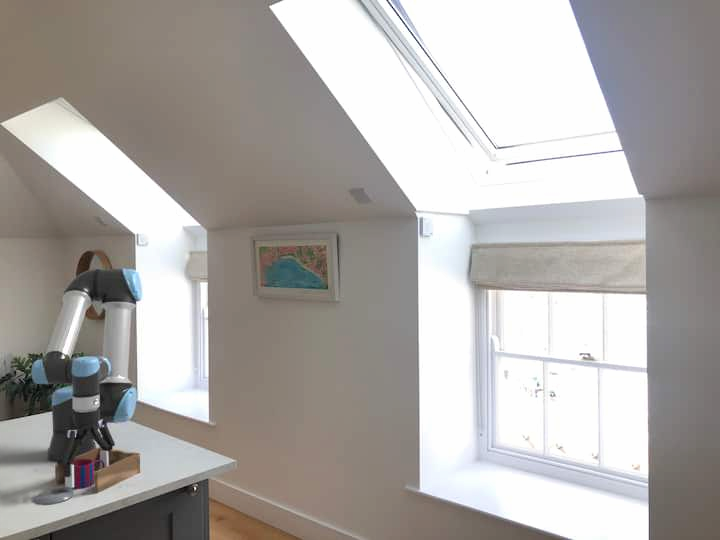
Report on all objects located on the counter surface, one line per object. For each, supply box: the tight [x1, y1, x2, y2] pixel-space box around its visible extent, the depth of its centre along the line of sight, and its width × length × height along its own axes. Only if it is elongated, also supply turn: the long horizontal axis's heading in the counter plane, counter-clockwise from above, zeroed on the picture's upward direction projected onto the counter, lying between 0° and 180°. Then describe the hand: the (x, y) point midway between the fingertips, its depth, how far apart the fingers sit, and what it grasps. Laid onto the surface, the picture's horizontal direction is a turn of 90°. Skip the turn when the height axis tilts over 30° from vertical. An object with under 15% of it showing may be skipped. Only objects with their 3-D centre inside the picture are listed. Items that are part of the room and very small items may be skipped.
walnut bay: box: [54, 446, 141, 494], centre depth 197 cm, size 16×18×6 cm
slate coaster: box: [34, 487, 75, 505], centre depth 183 cm, size 10×10×1 cm
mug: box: [71, 459, 105, 490], centre depth 193 cm, size 7×10×7 cm
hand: (87, 479), depth 193 cm, fingers open, 13 cm apart
